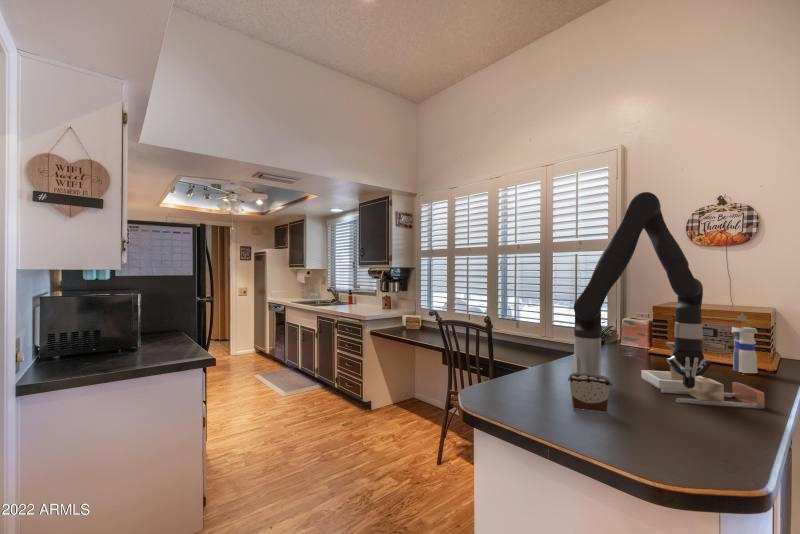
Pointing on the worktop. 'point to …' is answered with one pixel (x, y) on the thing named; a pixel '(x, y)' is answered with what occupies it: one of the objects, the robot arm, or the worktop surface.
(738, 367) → the water bottle
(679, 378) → the handle
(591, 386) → the food container
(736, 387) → the track
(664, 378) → the tray
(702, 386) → the block
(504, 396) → the worktop surface
